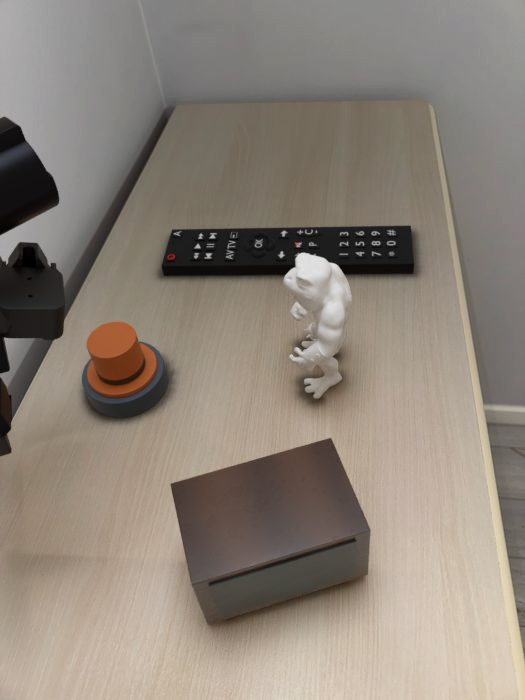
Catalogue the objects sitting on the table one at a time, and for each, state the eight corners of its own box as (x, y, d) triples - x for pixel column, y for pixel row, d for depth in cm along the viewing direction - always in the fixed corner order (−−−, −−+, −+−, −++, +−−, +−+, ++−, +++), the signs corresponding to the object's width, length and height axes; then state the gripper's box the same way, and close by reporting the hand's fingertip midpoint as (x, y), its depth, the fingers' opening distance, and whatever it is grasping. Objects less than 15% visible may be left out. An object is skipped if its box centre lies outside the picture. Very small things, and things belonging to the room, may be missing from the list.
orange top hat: (91, 406, 70) (77, 375, 67) (85, 355, 75) (71, 323, 72) (163, 387, 71) (153, 355, 68) (151, 337, 76) (141, 306, 73)
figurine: (356, 405, 70) (358, 301, 59) (293, 409, 71) (282, 306, 60) (347, 331, 78) (347, 225, 67) (290, 334, 78) (280, 230, 67)
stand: (92, 427, 72) (85, 412, 70) (84, 367, 78) (78, 352, 76) (174, 404, 73) (170, 390, 71) (160, 347, 79) (156, 332, 77)
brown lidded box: (210, 632, 56) (191, 587, 49) (188, 534, 62) (170, 483, 56) (368, 582, 58) (371, 532, 51) (332, 492, 64) (331, 437, 57)
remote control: (172, 238, 92) (169, 226, 91) (409, 234, 88) (410, 222, 87) (161, 275, 87) (158, 263, 86) (413, 273, 83) (414, 261, 82)
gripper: (44, 333, 40) (111, 473, 52) (32, 172, 53) (88, 314, 64) (-147, 382, 39) (-36, 514, 51) (-113, 205, 52) (-29, 343, 63)
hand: (4, 410), depth 57 cm, fingers open, 9 cm apart
